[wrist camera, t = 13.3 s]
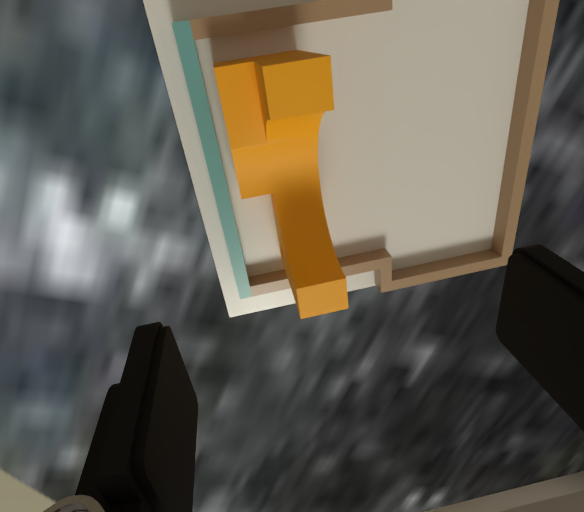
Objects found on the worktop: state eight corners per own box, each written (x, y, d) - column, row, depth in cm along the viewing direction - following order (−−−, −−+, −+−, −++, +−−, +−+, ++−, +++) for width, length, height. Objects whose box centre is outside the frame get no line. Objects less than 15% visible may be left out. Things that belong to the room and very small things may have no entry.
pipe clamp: (213, 63, 20) (214, 74, 14) (297, 49, 20) (330, 55, 14) (255, 263, 26) (267, 326, 20) (319, 250, 26) (348, 308, 21)
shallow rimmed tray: (557, -85, 20) (586, -96, 18) (500, 253, 30) (515, 264, 28) (136, -29, 18) (129, -35, 16) (229, 312, 28) (230, 328, 26)
